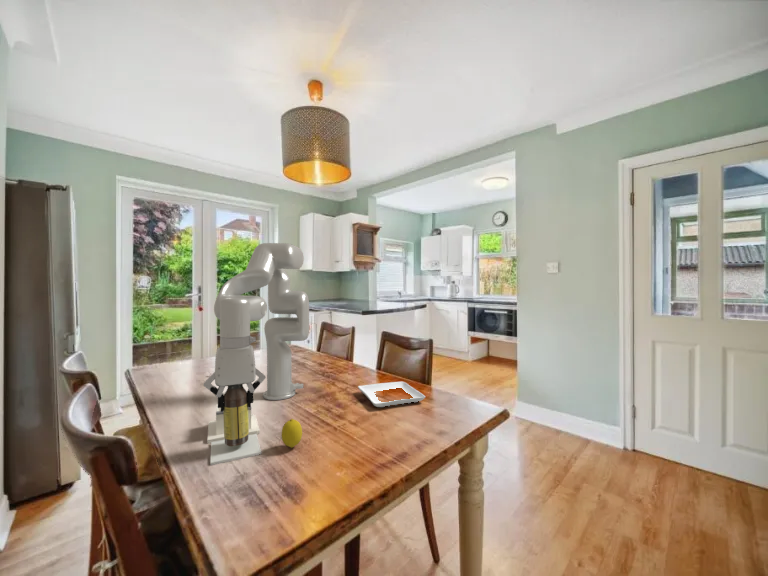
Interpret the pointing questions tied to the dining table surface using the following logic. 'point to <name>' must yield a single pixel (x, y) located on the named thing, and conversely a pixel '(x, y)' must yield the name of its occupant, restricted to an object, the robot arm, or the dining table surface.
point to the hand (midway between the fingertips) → (235, 407)
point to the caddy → (218, 426)
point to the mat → (234, 450)
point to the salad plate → (372, 388)
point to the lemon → (291, 433)
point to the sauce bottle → (235, 415)
